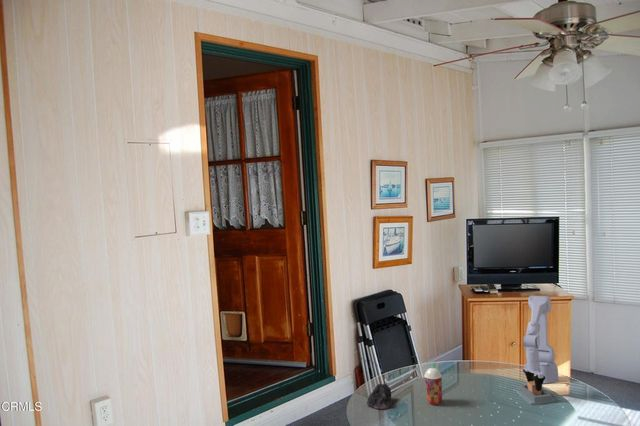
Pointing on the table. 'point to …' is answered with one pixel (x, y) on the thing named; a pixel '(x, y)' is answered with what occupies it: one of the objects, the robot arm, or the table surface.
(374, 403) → the crystal cluster
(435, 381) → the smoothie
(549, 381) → the robot arm
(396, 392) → the table surface
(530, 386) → the wooden block
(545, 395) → the well board
